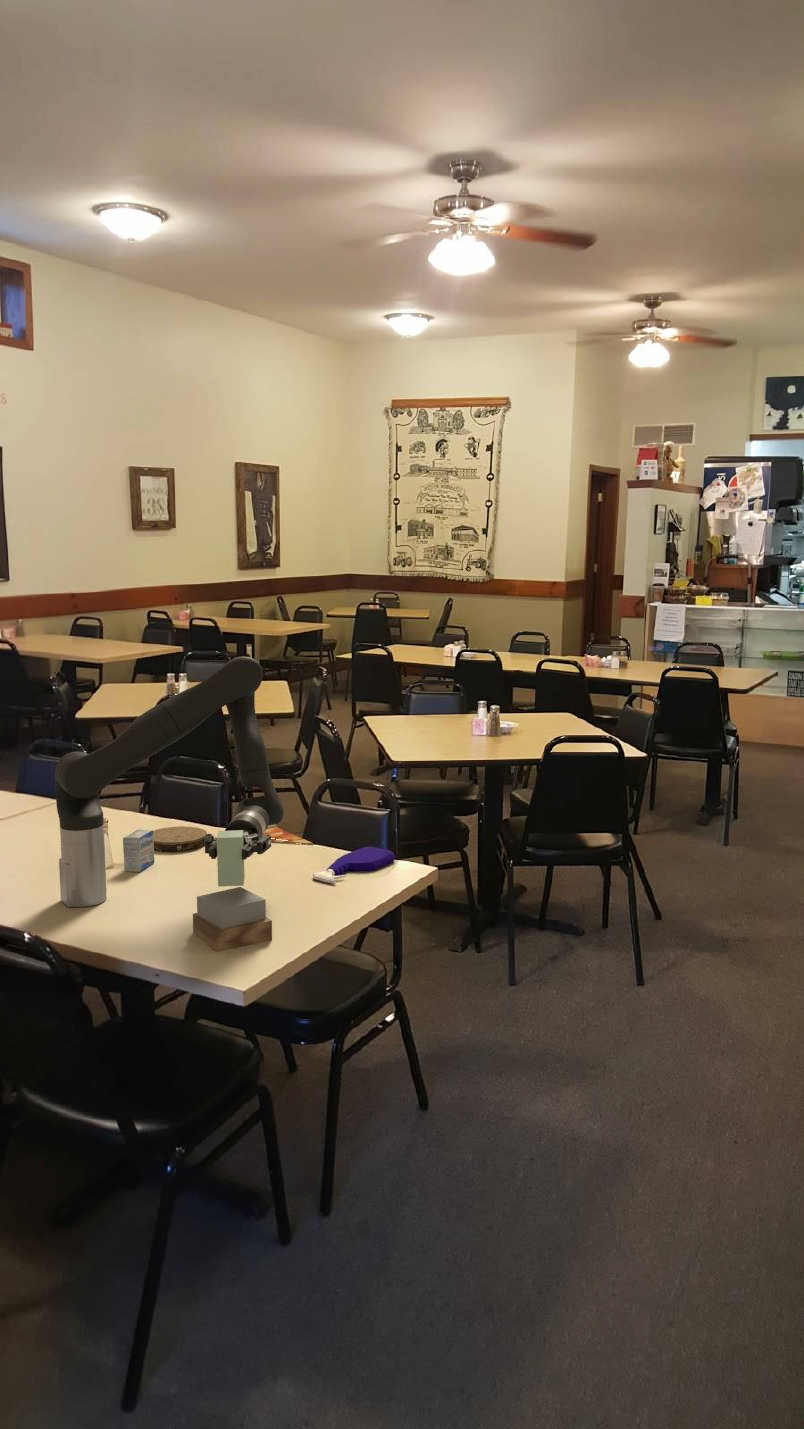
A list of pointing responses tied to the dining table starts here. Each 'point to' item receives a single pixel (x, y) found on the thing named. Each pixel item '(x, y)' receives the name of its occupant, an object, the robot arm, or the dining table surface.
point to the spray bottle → (356, 863)
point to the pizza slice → (284, 836)
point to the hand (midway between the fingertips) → (228, 854)
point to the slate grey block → (231, 907)
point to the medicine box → (138, 850)
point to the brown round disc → (178, 839)
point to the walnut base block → (232, 933)
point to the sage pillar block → (230, 858)
